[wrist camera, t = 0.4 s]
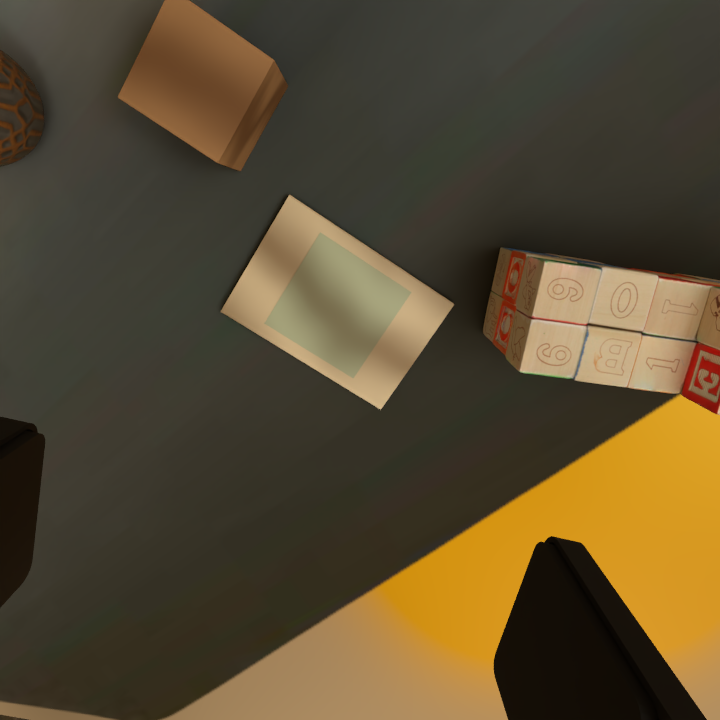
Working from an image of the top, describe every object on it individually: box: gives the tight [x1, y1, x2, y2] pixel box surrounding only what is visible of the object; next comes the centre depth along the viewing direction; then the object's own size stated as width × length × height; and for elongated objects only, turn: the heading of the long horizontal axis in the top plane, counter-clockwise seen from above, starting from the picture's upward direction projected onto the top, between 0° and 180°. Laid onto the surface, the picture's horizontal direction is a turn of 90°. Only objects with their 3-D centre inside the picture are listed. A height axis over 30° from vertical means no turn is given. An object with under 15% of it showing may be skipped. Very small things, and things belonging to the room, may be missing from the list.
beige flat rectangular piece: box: [221, 195, 454, 410], centre depth 37 cm, size 9×13×1 cm
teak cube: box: [118, 0, 288, 171], centre depth 31 cm, size 6×6×6 cm
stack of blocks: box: [483, 247, 720, 415], centre depth 32 cm, size 21×6×12 cm, turn 81°
